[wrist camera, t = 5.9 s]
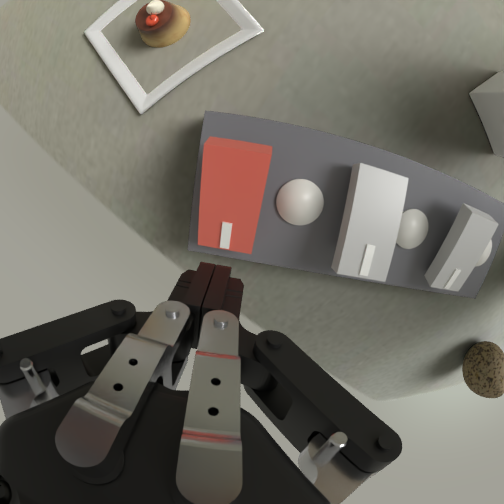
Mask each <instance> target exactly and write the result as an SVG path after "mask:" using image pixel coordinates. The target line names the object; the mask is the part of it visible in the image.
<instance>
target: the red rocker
mask: <svg viewBox="0 0 504 504" xmlns="http://www.w3.org/2000/svg"><path fill="white" fill-rule="evenodd" d="M271 156H272V146H268V145H263V144H257V143H251V142H245V141H239V140H232V139H226V138H218V137H211V136H210V137H209V138H208V139H207V141H206V142H205V143H204V149H203V161H202V174H201V189H200V206H199V225H198V245H202V246H208V247H213V248H219V249H225V250H230V251H236V252H241V253H247V254H251V253H252V248H253V243H254V239H255V234H256V229H257V224H258V219H259V214H260V210H261V205H262V200H263V195H264V190H265V185H266V180H267V176H268V171H269V166H270V161H271Z"/></svg>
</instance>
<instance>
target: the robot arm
mask: <svg viewBox="0 0 504 504" xmlns="http://www.w3.org/2000/svg"><path fill="white" fill-rule="evenodd" d="M230 274H231V267H227V266H222V265H216V264H210V263H205V262H201V263H200V265H199V267H198V269H197V271H193V270H187V271H186V272H184V273H182V274H181V276H180V278H179V280H178V282H177V284H176V286H175V287H174V289H173V291H172V293H171V295H170V297H169V299H168V301H165V302H162V303H160V304H159V305H158V306H157V307H156V308H155V310H154V311H152V312H136V309H135V306H134V305H133V304H132V303H131V302H129V301H126V300H114V301H111V302H107V303H104V304H101V305H98V306H95V307H93V308H89V309H86V310H84V311H81V312H78V313H75V314H72V315H69V316H66V317H63V318H60V319H57V320H54V321H51V322H48V323H45V324H42V325H40V326H37V327H34V328H31V329H28V330H25V331H22V332H19V333H16V334H13V335H10V336H7V337H4V338H1V339H0V400H1V404H2V407H3V410H4V414H5V417H6V420H5V421H4V422H3V423H2V424H1V426H0V504H340V503H341V502H342V501H344V500H345V499H346V498H347V497H348V496H349V495H350V494H352V492H354V491H355V490H356V489H357V488H358V487H359V486H360V485H361V484H362V483H363V482H365V481H366V480H367V479H369V478H371V477H372V476H373V475H375V474H376V473H378V472H379V471H380V470H382V469H383V468H384V467H386V466H387V465H389V464H390V463H391V462H392V461H394V460H395V459H396V458H397V457H398V456H399V455H400V453H401V451H402V442H401V439H400V437H399V435H398V434H397V433H396V432H395V431H394V430H392V429H391V428H390V427H389V426H388V425H386V424H385V423H384V422H383V421H382V420H380V419H379V418H378V417H377V416H376V415H375V414H373V413H372V412H371V411H370V410H369V409H367V408H366V407H365V406H364V405H363V404H362V403H361V402H359V401H358V400H357V399H356V398H355V397H354V396H352V395H351V394H350V393H349V392H348V391H347V390H346V389H344V388H343V387H342V386H341V385H340V384H339V383H338V382H337V381H335V380H334V379H333V378H332V377H331V376H330V375H329V374H328V373H326V372H325V371H324V370H323V369H322V368H321V367H320V366H319V365H318V364H317V363H315V362H314V361H313V360H312V359H311V358H310V357H309V356H308V355H307V354H306V353H304V352H303V351H302V350H301V349H300V348H299V347H298V346H297V345H296V344H295V343H294V342H293V341H291V340H290V339H289V338H288V337H287V336H286V335H284V334H283V333H280V332H278V331H272V330H268V331H263V332H261V333H259V334H258V335H255V334H253V333H251V332H249V331H247V330H246V329H244V328H243V327H242V325H241V324H240V321H239V315H240V308H241V301H242V295H243V288H244V285H243V283H242V281H241V279H237V278H231V277H230ZM105 339H108V345H105V346H103V347H101V348H98V349H96V350H93V351H90V352H88V353H85V354H83V355H81V351H82V350H83V349H84V348H85V347H87V346H90V345H92V344H95V343H97V342H100V341H102V340H105ZM197 347H198V350H197V351H196V355H195V360H194V365H193V371H192V378H191V383H190V389H189V391H178V390H177V391H176V387H177V385H178V383H179V380H180V378H181V375H182V373H183V371H184V368H185V366H186V364H187V361H188V355H189V352H190V349H191V348H195V349H197ZM240 383H241V384H243V385H244V389H245V391H246V392H247V394H248V395H249V396H250V397H251V398H252V400H253V401H254V402H255V403H256V404H257V406H258V407H259V408H260V409H261V410H262V411H263V413H265V415H266V416H267V417H268V418H269V419H270V420H271V422H272V423H273V424H274V425H275V426H276V427H277V428H278V429H279V431H280V432H281V433H282V434H283V435H284V436H285V437H286V438H287V439H288V440H289V441H290V443H291V444H292V445H293V446H294V447H295V448H296V449H297V450H298V451H299V452H300V455H299V458H298V464H299V467H300V469H301V471H302V472H303V473H304V474H303V473H302V472H301V471H300V469H299V468H298V467H297V466H296V465H295V464H294V463H293V461H291V459H290V458H289V457H288V456H287V455H286V454H285V452H284V451H283V450H282V449H281V447H280V446H279V445H278V444H277V443H276V442H275V440H274V439H273V438H272V437H271V435H270V434H269V433H268V432H267V430H266V429H265V428H264V427H263V425H262V424H261V423H260V422H259V421H258V420H257V419H256V418H255V417H254V416H252V415H251V414H250V413H249V412H247V411H246V410H244V409H242V408H240Z"/></svg>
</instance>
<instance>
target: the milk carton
mask: <svg viewBox="0 0 504 504" xmlns="http://www.w3.org/2000/svg"><path fill="white" fill-rule="evenodd" d="M469 95H470V97H471V99H472V101H473V103H474V105H475V108H476V110H477V112H478V114H479V116H480V119H481V121H482V123H483V126H484V128H485V131H486V133H487V136H488V138H489V141H490V144H491V147H492V149H493V152H494V154H495V155H497V156H500V157H504V71H500V72H498V73H496V74H495V75H494V76H492V77H491V78H489V79H488V80H487V81H485V82H484V83H482V84H481V85H480V86H478V87H477V88H475V89H474V90H472V91H471V92H470V93H469Z"/></svg>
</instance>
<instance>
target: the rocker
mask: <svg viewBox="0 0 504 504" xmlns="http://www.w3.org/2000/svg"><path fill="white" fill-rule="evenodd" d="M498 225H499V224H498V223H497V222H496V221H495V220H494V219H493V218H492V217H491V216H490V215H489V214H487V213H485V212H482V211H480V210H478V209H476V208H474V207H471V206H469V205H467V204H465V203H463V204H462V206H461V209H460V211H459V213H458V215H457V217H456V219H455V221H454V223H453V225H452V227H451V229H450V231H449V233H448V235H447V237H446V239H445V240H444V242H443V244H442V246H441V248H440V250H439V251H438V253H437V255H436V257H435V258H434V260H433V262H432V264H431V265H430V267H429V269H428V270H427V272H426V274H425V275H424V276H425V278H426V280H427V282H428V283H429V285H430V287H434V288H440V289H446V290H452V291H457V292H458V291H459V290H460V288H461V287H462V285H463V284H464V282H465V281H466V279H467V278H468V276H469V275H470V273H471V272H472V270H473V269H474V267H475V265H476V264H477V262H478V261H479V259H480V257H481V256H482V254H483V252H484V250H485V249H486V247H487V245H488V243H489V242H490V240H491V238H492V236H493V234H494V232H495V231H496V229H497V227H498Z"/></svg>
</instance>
